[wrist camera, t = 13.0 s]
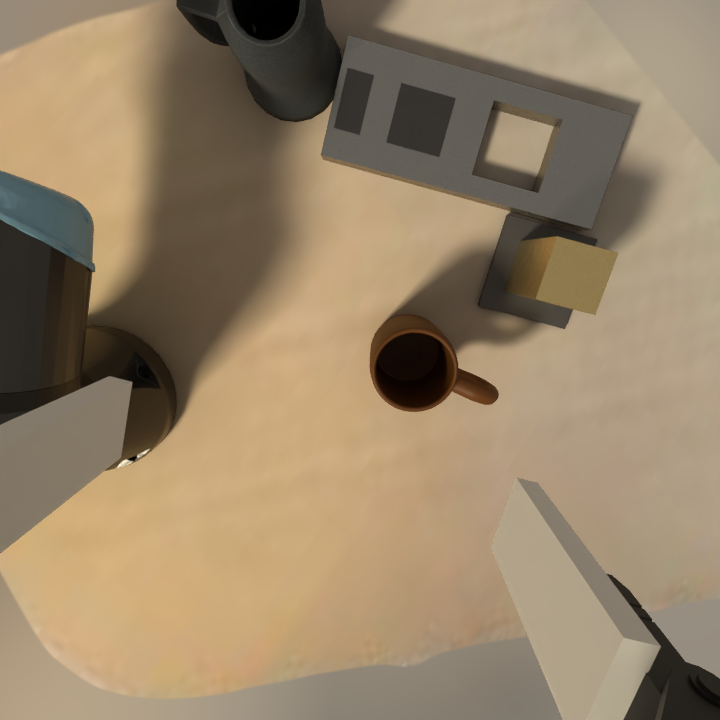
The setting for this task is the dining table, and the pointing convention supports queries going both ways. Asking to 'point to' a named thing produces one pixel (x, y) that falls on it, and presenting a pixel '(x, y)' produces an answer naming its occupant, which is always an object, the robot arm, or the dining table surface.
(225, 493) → the dining table surface
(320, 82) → the mug
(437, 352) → the mug
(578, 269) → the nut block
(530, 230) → the rubber mat
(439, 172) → the grey board with slots
